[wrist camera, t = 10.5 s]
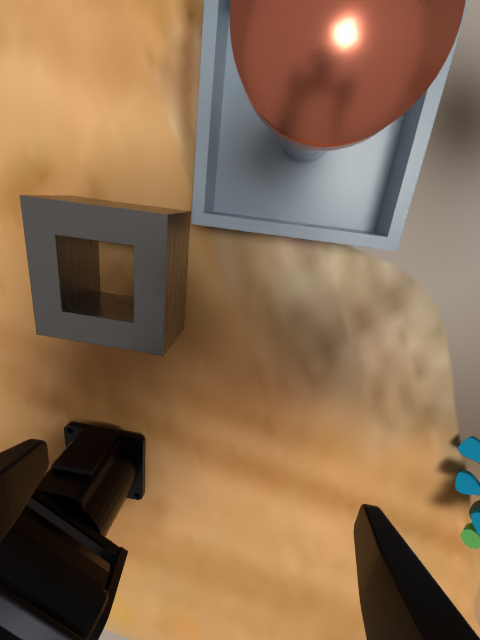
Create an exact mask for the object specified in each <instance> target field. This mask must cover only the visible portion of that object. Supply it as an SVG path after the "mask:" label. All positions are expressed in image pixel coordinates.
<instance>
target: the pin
mask: <svg viewBox="0 0 480 640" xmlns="http://www.w3.org/2000/svg"><path fill="white" fill-rule="evenodd" d="M465 3H466V0H231V4H230V36H231V45H232V51H233V56H234V61H235V64H236V67H237V71H238V74H239V77H240V79H241V82H242V85H243V87H244V90H245V93H246V95H247V97H248V99H249V102H250V104H251V106H252V107H253V109H254V111H255V112H256V114H257V116H258V117H259V118H260V119H261V121H262V122H263V123H264V124H265V125H266V126H267V127H268V128H269V129H270V130H271V131H272V132H273V133H274V134H276V135H277V136H278V140H279V143H280V146H281V148H282V149H283V151H284V152H285V153H286V154H287V155H288V156H289V157H290V158H292V159H294V160H296V161H300V162H310V161H314V160H316V159H318V158H320V157H322V156H323V155H324V154H325V153H326V152H327V151H331V150H339V149H343V148H347V147H351V146H353V145H356V144H359V143H361V142H363V141H365V140H367V139H369V138H371V137H372V136H374V135H376V134H377V133H378V132H380V131H381V130H383V129H384V128H385V127H387V126H388V125H390V124H391V123H392V122H394V121H395V120H396V119H398V118H399V117H401V116H402V115H403V114H404V113H405V112H406V111H407V110H409V109H410V108H411V107H412V106H413V105H414V104H415V103H416V102H417V101H418V100H419V99H420V97H421V96H422V95H423V94H424V93H425V92H426V91H427V89H428V88H429V87H430V85H431V84H432V82H433V81H434V80H435V78H436V77H437V75H438V74H439V72H440V70H441V69H442V67H443V65H444V63H445V62H446V60H447V58H448V56H449V53H450V51H451V49H452V47H453V45H454V42H455V39H456V37H457V34H458V31H459V28H460V25H461V21H462V17H463V12H464V8H465Z"/></svg>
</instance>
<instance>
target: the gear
mask: <svg viewBox="0 0 480 640" xmlns="http://www.w3.org/2000/svg"><path fill="white" fill-rule="evenodd" d="M458 450H459V452H460V453H461V454H462V455H463V456H465V457H467V458H470V459H472V460H474V461H476V462H478V463H479V464H480V440H478V439H477V438H476V437H473V436H472V437H469V438H468V439H466V440H465V441H463V442H462V443H461V444H460V446H459V447H458ZM455 489H456V490H457V491H458V492H460V493H462V494H466V495H470V494H473V495H480V483H479V481H478V480H477V478H476V477H475V476H474V475H473V474H472V473H470V472H469V471H465V470H461V471H460V472H459V473H458V475H457V477H456V483H455ZM469 515H470V518H471V520H472V523H469V524H467V525H466V526H465V528H464V530H463V531H462V533H461V538H462V540H463V542H464V543H465V544H466V545H467V546H468V547H470V548H474V549H476V548H479V547H480V500H479V501H476V502H475V503H473V505H472V506H471V508H470V511H469Z"/></svg>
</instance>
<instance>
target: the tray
mask: <svg viewBox="0 0 480 640" xmlns="http://www.w3.org/2000/svg"><path fill="white" fill-rule="evenodd" d="M468 1H469V0H466V3H465V8H464V12H463V17H462V21H461V25H462V22H463V18H464V15H465V11H466V8H467V5H468ZM230 4H231V0H204V13H203V30H202V47H201V65H200V82H199V99H198V116H197V133H196V151H195V168H194V185H193V202H192V219H191V224H194V225H202V226H210V227H217V228H225V229H232V230H240V231H247V232H255V233H263V234H270V235H278V236H285V237H293V238H300V239H308V240H315V241H323V242H331V243H338V244H346V245H353V246H362V247H368V248H377V249H384V250H392V251H397V249H398V246H399V242H400V238H401V235H402V232H403V228H404V225H405V221H406V218H407V214H408V211H409V207H410V204H411V200H412V197H413V193H414V190H415V186H416V182H417V179H418V175H419V172H420V169H421V165H422V162H423V158H424V155H425V151H426V148H427V144H428V141H429V137H430V134H431V130H432V127H433V123H434V119H435V116H436V113H437V109H438V106H439V102H440V99H441V95H442V92H443V88H444V85H445V81H446V78H447V74H448V71H449V67H450V64H451V61H452V57H453V54H454V50H455V46H456V43H457V40H458V36H459V33H460V29H461V25H460V28H459V31H458V34H457V37H456V39H455V42H454V45H453V47H452V49H451V51H450V53H449V56H448V58H447V60H446V62H445V63H444V65H443V67H442V69H441V70H440V72H439V74H438V75H437V77H436V78H435V80H434V81H433V82H432V84H431V85H430V87H429V88H428V89H427V91H426V92H425V93H424V94H423V95H422V96H421V97H420V99H419V100H418V101H417V102H416V103H415V104H414V105H413V106H412V107H411V108H410V109H409V110H407V111H406V112H405V113H404V114H403V115H402V116H401V117H399V118H398V119H396V120H395V121H394V122H392V123H391V124H390V125H388V126H387V127H385V128H384V129H383V130H381V131H380V132H378V133H377V134H376V135H374V136H372V137H371V138H369V139H367V140H365V141H363V142H361V143H359V144H356V145H353V146H351V147H347V148H343V149H339V150H331V151H327V152H326V153H325V154H324V155H323V156H322V157H320V158H318V159H316V160H314V161H310V162H300V161H296V160H294V159H292V158H290V157H289V156H288V155H287V154H286V153H285V152H284V151H283V149H282V148H281V146H280V143H279V140H278V136H277V135H276V134H274V133H273V132H272V131H271V130H270V129H269V128H268V127H267V126H266V125H265V124H264V123H263V122H262V121H261V119H260V118H259V117H258V116H257V114H256V112H255V111H254V109H253V107H252V106H251V104H250V102H249V99H248V97H247V95H246V93H245V90H244V87H243V85H242V82H241V79H240V77H239V74H238V71H237V67H236V64H235V61H234V56H233V51H232V45H231V36H230Z"/></svg>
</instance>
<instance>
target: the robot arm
mask: <svg viewBox="0 0 480 640" xmlns="http://www.w3.org/2000/svg"><path fill="white" fill-rule="evenodd" d="M64 434H65V444H66V449H65V450H64V451H63V452H62V453H61V454H60V455H59V457H58V458H57V459H56V460H55V461H54V462H53V463H52V465H51V468H50V469H49V470H48V471H47V469H48V466H49V458H48V450H47V444H46V442H45V441H43V440H37V439H29V440H26V441H24V442H22V443H20V444H18V445H16V446H14V447H12V448H9V449H7V450H5V451H3V452H1V453H0V640H98V639H99V636H100V635H101V633H102V631H103V629H104V627H105V624H106V622H107V619H108V617H109V614H110V611H111V608H112V604H113V601H114V598H115V594H116V591H117V587H118V584H119V580H120V577H121V574H122V570H123V567H124V563H125V560H126V557H127V553H128V551H127V550H126V549H124V548H123V547H119V546H117V545H116V544H114V543H113V542H112V541H110V540H109V539H107V538H106V537H105V536H106V534H107V533H108V531H109V529H110V527H111V525H112V523H113V521H114V519H115V518H116V516H117V514H118V512H119V510H120V508H121V506H122V505H123V503H124V501H125V499H126V498H131V499H136V500H140V499H142V497H143V495H144V492H145V439H144V437H142V436H141V435H137V434H132V433H127V432H121V431H116V430H111V429H105V428H100V427H95V426H90V425H84V424H79V423H74V422H70V423H68V424H67V425H66V426H65V427H64ZM137 441H138V442H137ZM46 471H47V472H46ZM45 473H46V474H45ZM44 474H45V475H44ZM354 543H355V554H356V565H357V576H358V587H359V597H360V604H361V610H362V616H363V621H364V627H365V632H366V638H367V640H480V638H479V637H478V636H477V634H476V633H475V632H474V630H473V629H472V628H471V627H470V625H469V624H468V623H467V621H466V620H465V619H464V617H463V616H462V615H461V613H460V612H459V611H458V610H457V608H456V607H455V606H454V604H453V603H452V602H451V600H450V599H449V598H448V597H447V595H446V594H445V593H444V591H443V590H442V589H441V587H440V586H439V585H438V583H437V582H436V581H435V580H434V578H433V577H432V576H431V574H430V573H429V572H428V570H427V569H426V568H425V567H424V565H423V564H422V563H421V561H420V560H419V559H418V557H417V556H416V555H415V554H414V552H413V551H412V550H411V548H410V547H409V546H408V544H407V543H406V542H405V540H404V539H403V538H402V537H401V535H400V534H399V533H398V531H397V530H396V529H395V527H394V526H393V525H392V524H391V522H390V521H389V520H388V518H387V517H386V516H385V514H384V513H383V512H382V510H381V509H380V508H379V507H377V506H373V505H368V504H362V505H361V507H360V510H359V513H358V516H357V519H356V522H355V525H354Z"/></svg>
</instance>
